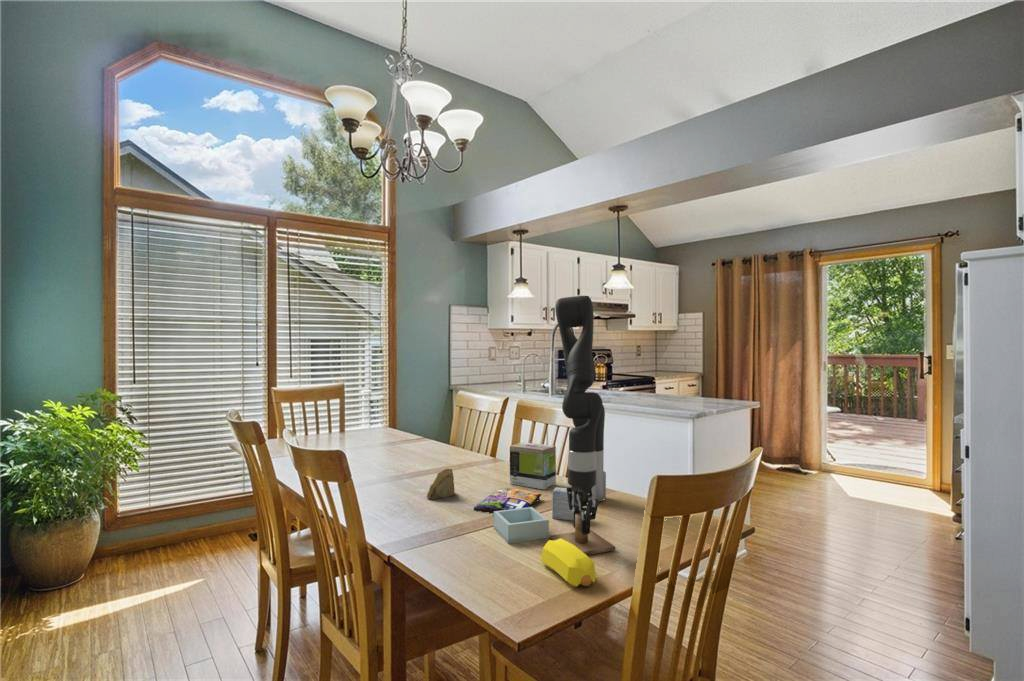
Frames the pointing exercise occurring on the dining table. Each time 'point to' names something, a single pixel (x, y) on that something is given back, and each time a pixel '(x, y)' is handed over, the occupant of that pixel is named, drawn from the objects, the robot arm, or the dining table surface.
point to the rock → (442, 485)
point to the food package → (507, 500)
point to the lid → (585, 539)
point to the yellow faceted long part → (569, 562)
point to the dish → (521, 525)
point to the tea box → (533, 465)
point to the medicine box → (561, 505)
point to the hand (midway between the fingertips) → (581, 530)
